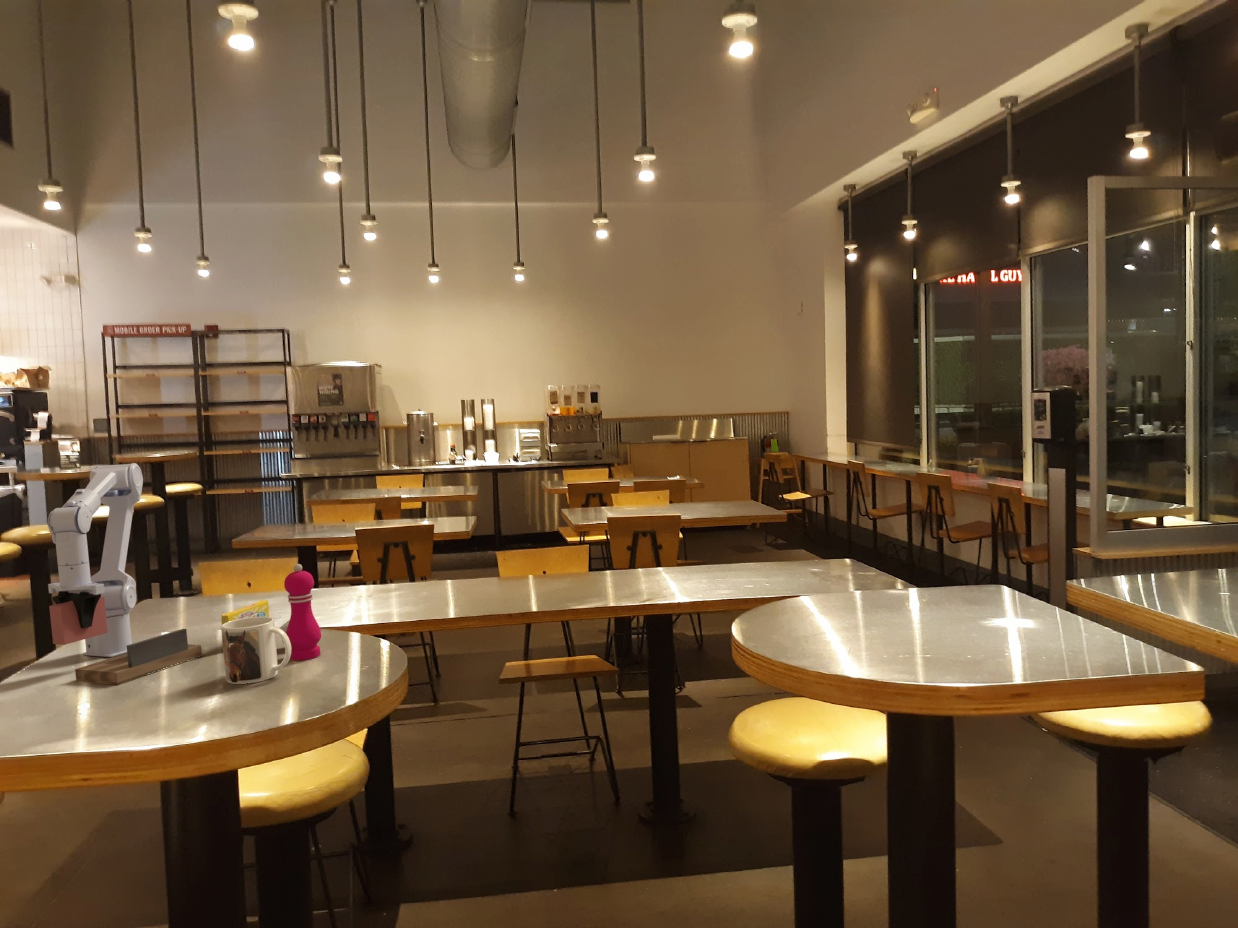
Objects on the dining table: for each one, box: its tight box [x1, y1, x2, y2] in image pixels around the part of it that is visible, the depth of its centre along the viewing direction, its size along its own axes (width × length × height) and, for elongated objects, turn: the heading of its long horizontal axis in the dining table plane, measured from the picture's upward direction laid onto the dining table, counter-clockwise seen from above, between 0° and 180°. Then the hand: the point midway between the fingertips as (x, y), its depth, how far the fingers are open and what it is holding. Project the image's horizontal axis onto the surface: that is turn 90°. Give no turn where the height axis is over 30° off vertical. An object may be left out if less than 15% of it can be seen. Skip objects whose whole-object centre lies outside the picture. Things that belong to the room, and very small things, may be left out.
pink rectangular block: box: [49, 596, 108, 646], centre depth 199 cm, size 4×10×8 cm, turn 157°
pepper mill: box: [283, 563, 322, 661], centre depth 200 cm, size 7×7×20 cm
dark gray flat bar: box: [126, 628, 189, 668], centre depth 197 cm, size 1×14×4 cm, turn 157°
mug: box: [220, 616, 292, 685], centre depth 186 cm, size 10×12×11 cm
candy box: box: [220, 600, 270, 626], centre depth 217 cm, size 16×2×8 cm, turn 168°
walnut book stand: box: [74, 643, 203, 686], centre depth 199 cm, size 12×21×2 cm, turn 157°
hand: (79, 626), depth 200 cm, fingers closed on pink rectangular block, 3 cm apart
